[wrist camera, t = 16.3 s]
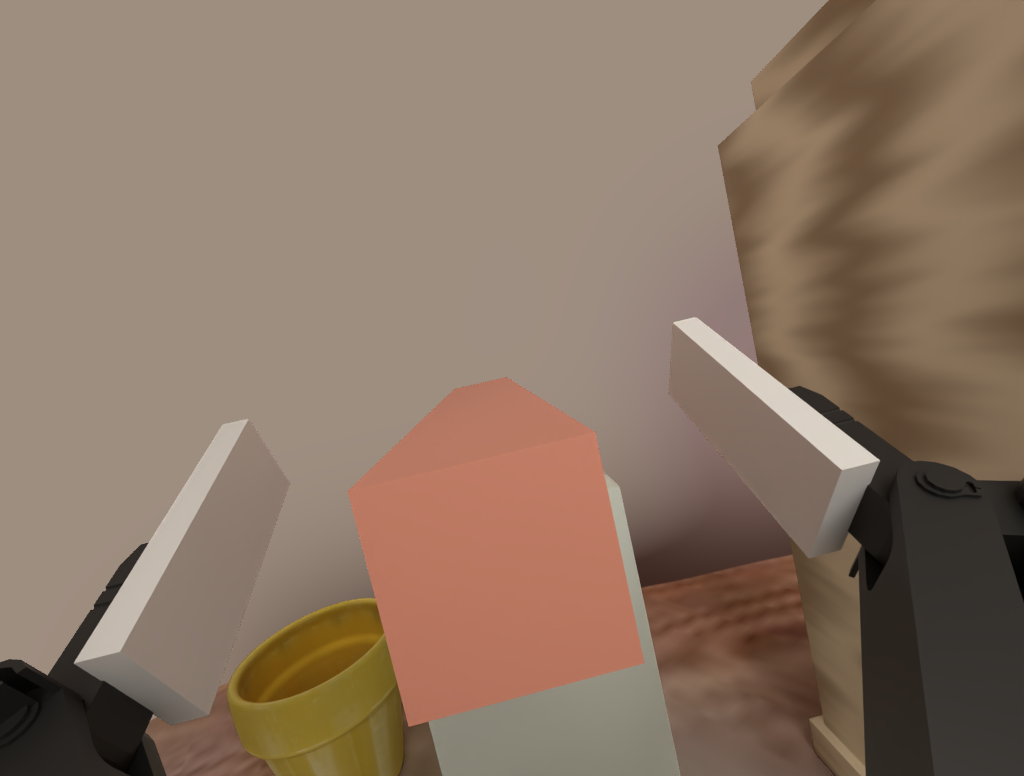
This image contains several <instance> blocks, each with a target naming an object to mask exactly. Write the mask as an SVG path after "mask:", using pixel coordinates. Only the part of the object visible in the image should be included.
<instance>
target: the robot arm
mask: <svg viewBox="0 0 1024 776" xmlns="http://www.w3.org/2000/svg"><path fill="white" fill-rule="evenodd" d="M669 395H670V396H671V397H672V398H673V399H674V401H675V402H676V403H677V404H678V405H679V406H680V408H681V409H682V410H683V411H684V412H685V414H686V415H687V416H688V417H689V418H690V420H691V421H692V422H693V423H694V424H695V425H696V427H697V428H698V429H699V430H700V431H701V432H702V434H703V435H704V436H705V437H706V438H707V440H708V441H709V442H710V443H711V444H712V445H713V446H714V448H715V449H716V450H717V451H718V452H719V454H720V455H721V456H722V457H723V458H724V459H725V461H726V462H727V463H728V464H729V465H730V467H731V468H732V469H733V470H734V471H735V472H736V474H737V475H738V476H739V477H740V478H741V479H742V481H743V482H744V483H745V484H746V485H747V487H748V488H749V489H750V490H751V491H752V492H753V494H754V495H755V496H756V497H757V498H758V499H759V501H760V502H761V503H762V504H763V505H764V506H765V508H766V509H767V510H768V511H769V512H770V514H771V515H772V516H773V517H774V518H775V519H776V521H777V522H778V523H779V524H780V525H781V527H782V528H783V529H784V530H785V531H786V532H787V533H788V535H789V536H790V537H791V538H792V539H793V541H794V542H795V543H796V544H797V545H798V547H799V548H800V549H801V550H802V551H803V552H804V554H805V555H806V556H807V557H808V558H812V557H816V556H820V555H824V554H827V553H831V552H835V551H839V550H841V549H842V546H843V544H844V542H845V540H846V537H847V535H848V533H850V534H851V535H852V536H853V537H854V538H855V539H856V540H857V541H858V542H859V543H860V544H861V545H862V546H861V548H860V550H859V552H858V554H857V556H856V558H855V560H854V562H853V564H852V567H851V569H850V572H849V575H848V576H849V577H852V578H855V576H856V574H857V572H858V570H859V597H860V626H861V655H862V684H863V713H864V742H865V771H866V776H1024V478H1023V479H1022V481H995V480H976V479H974V478H973V477H972V476H971V475H969V474H967V473H965V472H963V471H960V470H958V469H956V468H954V467H951V466H948V465H944V464H941V463H937V462H929V461H913V460H911V459H910V458H908V457H907V456H906V455H904V454H903V453H901V452H900V451H899V450H897V449H896V448H895V447H893V446H892V445H890V444H889V443H888V442H886V441H885V440H884V439H882V438H881V437H879V436H878V435H877V434H875V433H874V432H873V431H871V430H870V429H868V428H867V427H866V426H864V425H863V424H862V423H860V422H859V421H855V420H854V418H853V417H852V416H851V415H849V414H848V413H846V412H845V411H844V410H840V407H838V406H837V405H835V404H834V403H833V402H831V401H830V400H829V399H827V398H826V397H824V396H823V395H821V394H819V393H816V392H814V391H811V390H809V389H806V388H804V387H802V386H797V387H793V388H786V387H785V386H784V385H783V384H781V383H780V382H779V381H777V380H776V379H775V378H774V377H772V376H771V375H770V374H768V373H767V372H766V371H765V370H763V369H762V368H761V367H759V366H758V365H757V364H756V363H754V362H753V361H751V360H750V359H749V358H748V357H746V356H745V355H744V354H742V353H741V352H740V351H739V350H737V349H736V348H735V347H734V346H732V345H731V344H730V343H728V342H727V341H726V340H725V339H723V338H722V337H721V336H720V335H718V334H717V333H716V332H714V331H713V330H712V329H711V328H709V327H708V326H707V325H705V324H704V323H703V322H702V321H700V320H699V319H698V318H696V317H695V318H690V319H686V320H682V321H677V322H673V326H672V343H671V361H670V379H669ZM289 485H290V482H289V481H288V479H287V478H286V476H285V475H284V473H283V472H282V470H281V468H280V467H279V465H278V464H277V462H276V460H275V459H274V457H273V456H272V454H271V453H270V451H269V449H268V448H267V447H266V445H265V443H264V442H263V440H262V439H261V437H260V435H259V434H258V432H257V431H256V429H255V428H254V426H253V424H252V423H251V421H250V420H249V419H245V420H241V421H236V422H232V423H227V424H224V425H222V426H221V428H220V430H219V431H218V433H217V434H216V436H215V438H214V439H213V441H212V443H211V444H210V446H209V447H208V449H207V450H206V452H205V454H204V455H203V457H202V459H201V460H200V462H199V463H198V465H197V466H196V468H195V470H194V471H193V473H192V474H191V476H190V478H189V479H188V481H187V483H186V484H185V486H184V488H183V489H182V491H181V492H180V494H179V495H178V497H177V498H176V500H175V502H174V503H173V505H172V507H171V508H170V510H169V511H168V513H167V515H166V516H165V518H164V519H163V521H162V523H161V524H160V526H159V527H158V529H157V531H156V532H155V534H154V535H153V537H152V539H151V540H150V542H149V543H145V544H142V545H140V546H139V547H138V548H137V549H136V550H135V551H134V552H133V553H132V554H131V555H130V556H129V557H128V558H127V559H126V560H125V561H124V562H123V563H122V564H121V565H120V566H119V568H118V570H117V571H116V572H115V574H114V575H113V577H112V578H111V580H110V581H109V583H108V584H107V586H106V591H104V592H102V594H101V595H100V597H99V598H98V600H97V601H96V603H95V604H94V609H93V610H90V612H89V613H88V615H87V617H86V618H85V620H84V621H83V623H82V624H81V626H80V627H79V629H78V630H77V632H76V633H75V635H74V636H73V638H72V639H71V641H70V642H69V644H68V646H67V647H66V648H65V650H64V651H63V653H62V655H61V656H60V658H59V659H58V661H57V662H56V664H55V665H54V667H53V668H52V670H51V671H50V673H49V674H48V676H47V675H46V674H44V673H42V672H41V671H39V670H37V669H35V668H34V667H32V666H30V665H29V664H27V663H25V662H24V661H22V660H12V659H9V660H6V661H3V662H0V776H166V773H165V771H164V768H163V765H162V762H161V759H160V757H159V754H158V751H157V748H156V746H155V743H154V741H153V740H152V739H151V737H150V736H149V735H148V734H146V733H145V731H146V728H147V726H148V724H149V722H150V719H151V717H152V715H153V714H154V715H155V716H157V717H158V718H160V719H162V720H163V721H165V722H166V723H168V724H169V725H174V724H178V723H182V722H186V721H190V720H193V719H197V718H201V717H205V716H209V713H210V711H211V708H212V705H213V702H214V699H215V696H216V693H217V691H218V688H219V685H220V682H221V679H222V676H223V673H224V671H225V667H226V665H227V662H228V659H229V656H230V653H231V650H232V648H233V645H234V642H235V639H236V636H237V633H238V631H239V628H240V625H241V622H242V619H243V616H244V613H245V611H246V608H247V605H248V602H249V599H250V596H251V593H252V591H253V588H254V585H255V582H256V579H257V576H258V573H259V571H260V568H261V565H262V562H263V559H264V556H265V553H266V551H267V548H268V545H269V542H270V539H271V536H272V533H273V531H274V528H275V525H276V522H277V519H278V516H279V513H280V510H281V508H282V504H283V502H284V499H285V496H286V493H287V490H288V487H289Z"/></svg>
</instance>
